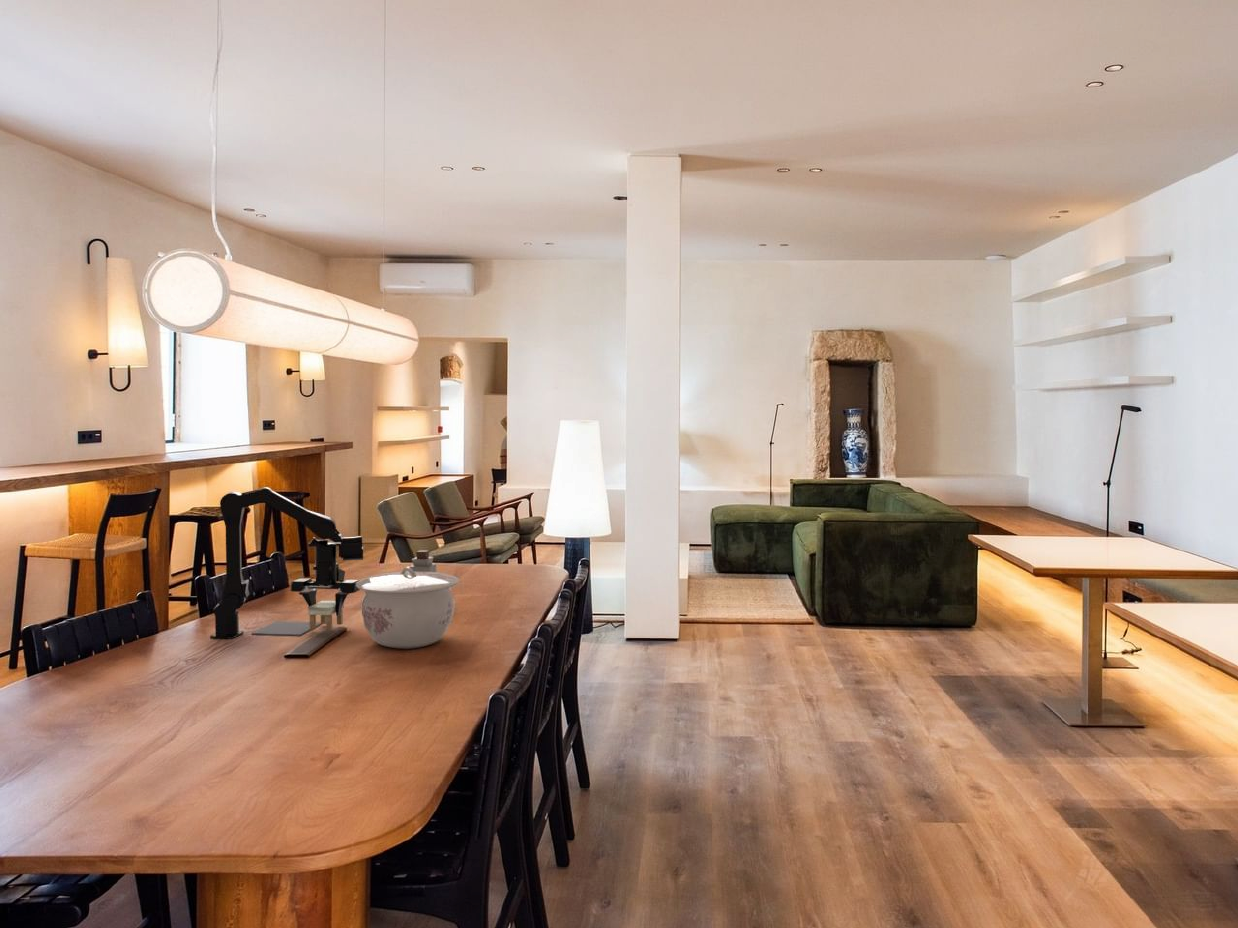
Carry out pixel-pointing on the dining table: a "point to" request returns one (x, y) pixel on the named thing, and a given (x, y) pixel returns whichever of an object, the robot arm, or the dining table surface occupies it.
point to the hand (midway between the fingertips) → (326, 615)
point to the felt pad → (285, 628)
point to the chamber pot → (407, 607)
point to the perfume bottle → (423, 562)
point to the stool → (324, 614)
